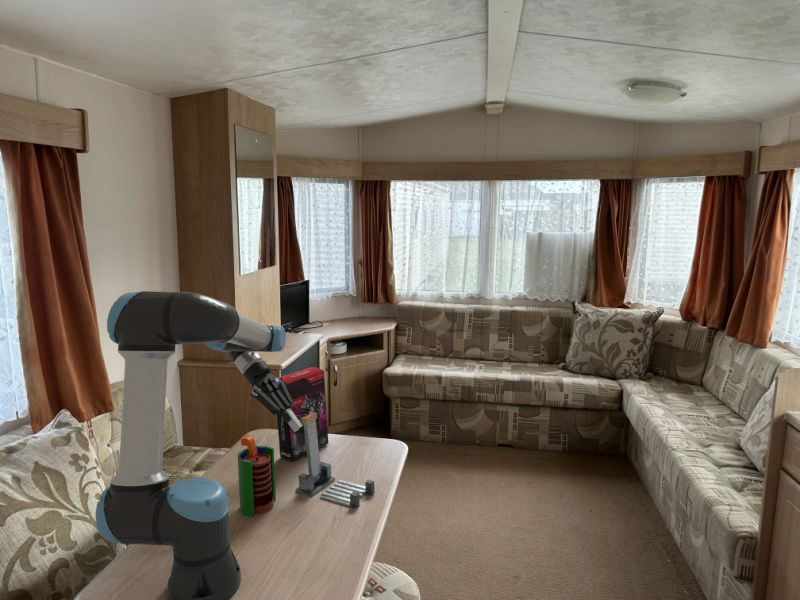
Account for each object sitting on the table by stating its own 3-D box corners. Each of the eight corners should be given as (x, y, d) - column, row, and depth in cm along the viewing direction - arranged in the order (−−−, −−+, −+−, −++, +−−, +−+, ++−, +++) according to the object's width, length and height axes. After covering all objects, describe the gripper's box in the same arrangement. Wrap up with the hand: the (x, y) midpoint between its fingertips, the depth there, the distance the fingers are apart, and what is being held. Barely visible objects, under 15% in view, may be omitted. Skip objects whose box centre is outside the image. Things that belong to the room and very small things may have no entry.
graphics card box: (291, 463, 181) (287, 382, 176) (277, 457, 185) (273, 378, 180) (329, 445, 194) (326, 368, 189) (315, 440, 198) (311, 365, 194)
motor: (264, 518, 149) (260, 447, 146) (233, 515, 151) (228, 445, 148) (280, 499, 159) (276, 432, 156) (250, 496, 161) (246, 429, 157)
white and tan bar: (313, 486, 163) (306, 418, 160) (306, 484, 164) (300, 418, 162) (324, 478, 168) (317, 413, 165) (317, 477, 169) (311, 412, 166)
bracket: (354, 509, 153) (354, 492, 152) (295, 491, 163) (294, 475, 162) (375, 491, 162) (375, 475, 162) (318, 475, 172) (318, 460, 172)
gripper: (243, 365, 164) (290, 429, 159) (273, 354, 175) (319, 414, 170) (231, 380, 167) (277, 443, 162) (261, 368, 179) (305, 428, 173)
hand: (298, 428), depth 166 cm, fingers closed
